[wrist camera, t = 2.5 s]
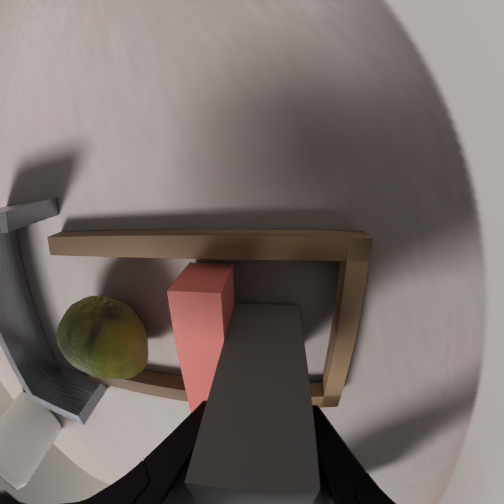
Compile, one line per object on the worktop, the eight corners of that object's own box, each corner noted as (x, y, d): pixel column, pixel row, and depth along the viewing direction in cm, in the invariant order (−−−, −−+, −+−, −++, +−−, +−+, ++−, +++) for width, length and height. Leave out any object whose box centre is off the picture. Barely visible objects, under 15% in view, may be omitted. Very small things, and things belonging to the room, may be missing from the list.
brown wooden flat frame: (334, 392, 15) (337, 406, 13) (98, 369, 16) (91, 380, 15) (363, 231, 12) (371, 238, 10) (60, 231, 13) (47, 237, 12)
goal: (107, 389, 16) (83, 424, 13) (54, 371, 17) (30, 399, 13) (56, 197, 12) (5, 211, 8) (6, 206, 13) (-36, 219, 9)
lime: (171, 344, 14) (137, 407, 10) (108, 348, 15) (69, 398, 10) (141, 272, 13) (86, 322, 8) (79, 286, 14) (26, 327, 9)
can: (21, 381, 19) (-32, 444, 8) (64, 418, 20) (17, 491, 8) (23, 402, 21) (-19, 458, 9) (61, 434, 22) (23, 496, 10)
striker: (291, 380, 14) (294, 529, 6) (204, 376, 14) (159, 514, 6) (300, 264, 12) (340, 449, 3) (189, 262, 12) (74, 413, 4)
